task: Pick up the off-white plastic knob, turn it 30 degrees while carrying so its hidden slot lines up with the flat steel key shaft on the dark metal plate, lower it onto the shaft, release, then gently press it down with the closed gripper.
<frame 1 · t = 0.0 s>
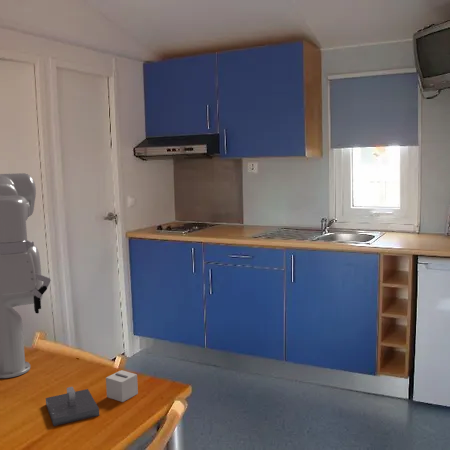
hand: (16, 315, 131), 31 cm above the table, fingers open, 9 cm apart
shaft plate: (72, 409, 146), on the table
knob: (122, 395, 155), on the table
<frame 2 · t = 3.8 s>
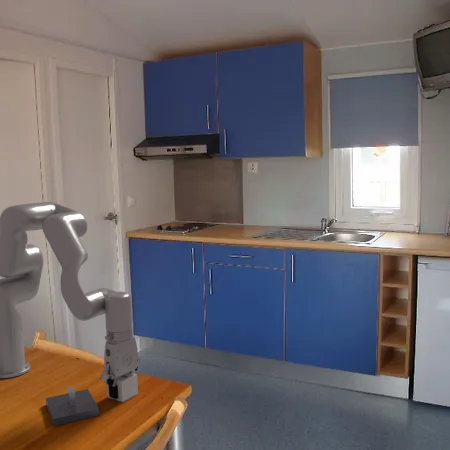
hand: (122, 392, 155), 1 cm above the table, fingers closed on knob, 6 cm apart
knob: (122, 395, 155), on the table, touching gripper
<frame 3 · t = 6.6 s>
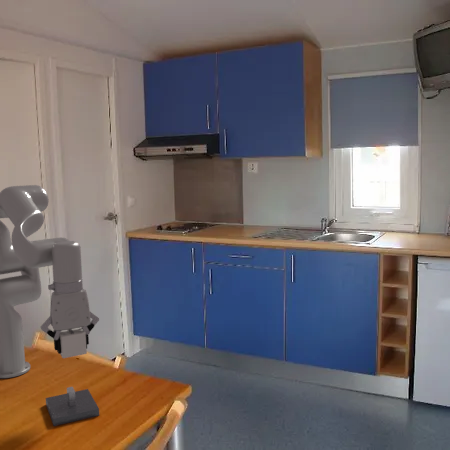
hand: (72, 349, 145), 17 cm above the table, fingers closed on knob, 6 cm apart
knob: (72, 352, 145), point 17 cm above the table, touching gripper
when the fingers open (5 cm above the table, at t = 9.5 s): knob drops 2 cm, resting on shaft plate.
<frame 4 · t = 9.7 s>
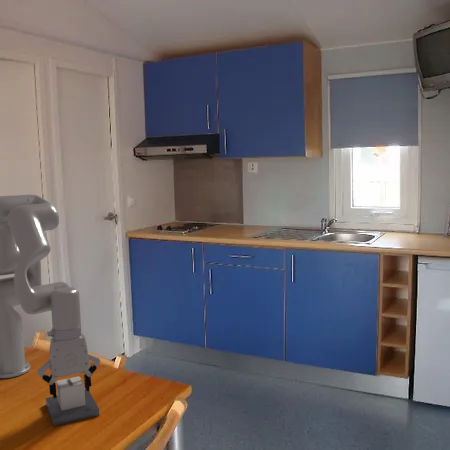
hand: (70, 392, 146), 5 cm above the table, fingers open, 8 cm apart
knob: (71, 403, 146), point 2 cm above the table, touching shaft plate
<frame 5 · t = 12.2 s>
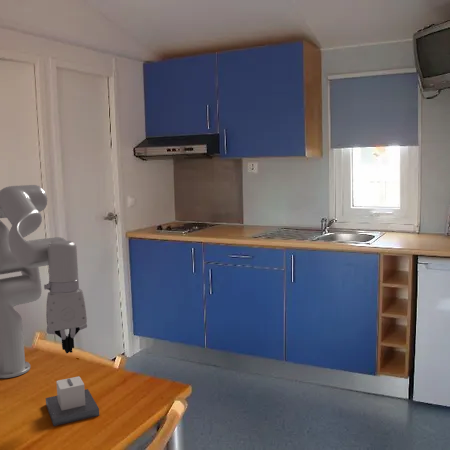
hand: (68, 351, 144), 17 cm above the table, fingers closed
nothing on the table moved.
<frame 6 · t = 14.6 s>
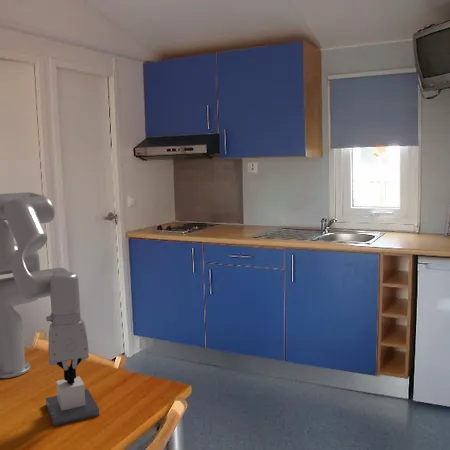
hand: (70, 381, 145), 8 cm above the table, fingers closed
knob: (71, 403, 146), point 2 cm above the table, touching gripper, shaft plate
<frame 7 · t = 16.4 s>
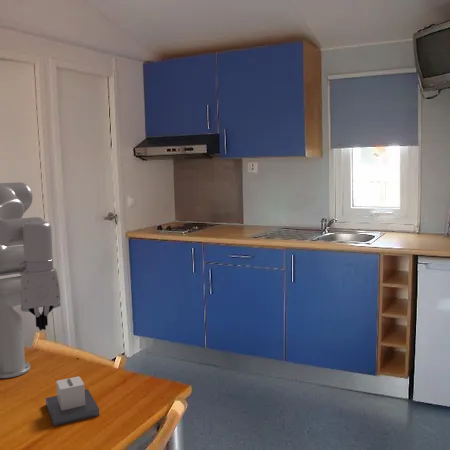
hand: (42, 328, 148), 22 cm above the table, fingers closed
knob: (71, 403, 146), point 2 cm above the table, touching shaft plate
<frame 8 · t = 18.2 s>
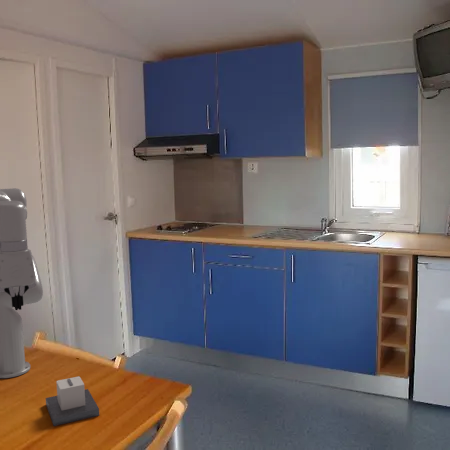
hand: (18, 308, 151), 27 cm above the table, fingers closed
nothing on the table moved.
at the end: knob 0.1 cm off-centre on the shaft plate, point 2.0 cm above the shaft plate's base; knob tilted 0°; the gripper is holding nothing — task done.
